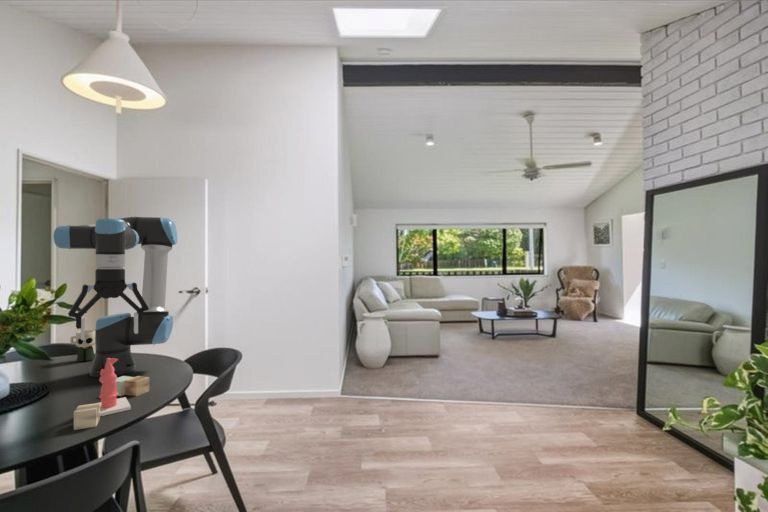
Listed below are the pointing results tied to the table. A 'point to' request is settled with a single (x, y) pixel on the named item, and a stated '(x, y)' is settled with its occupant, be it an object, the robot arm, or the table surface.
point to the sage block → (121, 384)
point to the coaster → (116, 407)
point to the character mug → (84, 345)
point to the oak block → (136, 385)
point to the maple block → (86, 416)
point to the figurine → (108, 385)
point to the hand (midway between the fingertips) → (110, 336)
